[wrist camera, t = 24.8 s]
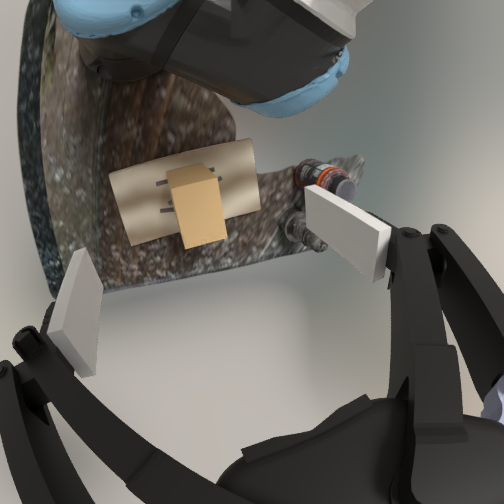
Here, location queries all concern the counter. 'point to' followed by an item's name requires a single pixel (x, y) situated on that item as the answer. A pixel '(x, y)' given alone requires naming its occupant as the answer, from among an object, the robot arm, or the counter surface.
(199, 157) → the birch board
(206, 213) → the block
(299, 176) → the supplement bottle
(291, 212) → the grey chess piece
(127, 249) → the counter surface
